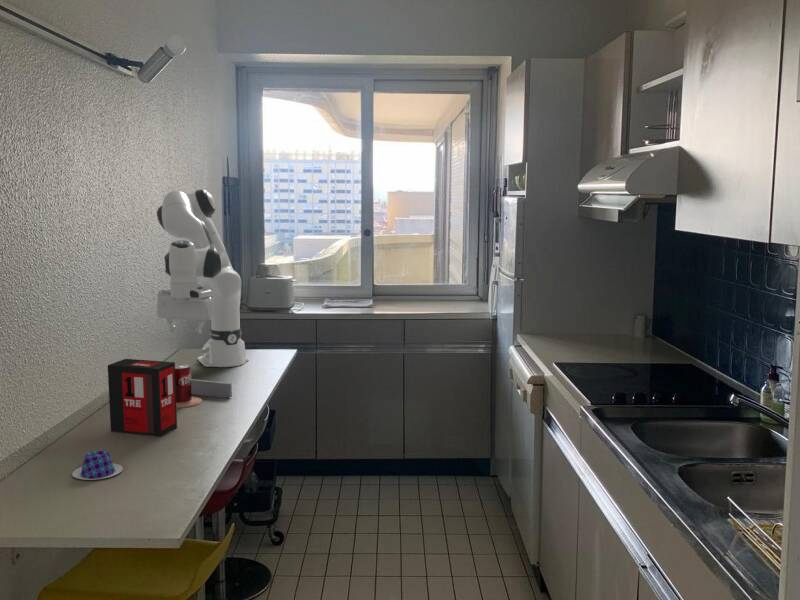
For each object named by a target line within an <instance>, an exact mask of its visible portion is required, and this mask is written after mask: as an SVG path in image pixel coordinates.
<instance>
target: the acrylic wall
mask: <svg viewBox="0 0 800 600" xmlns="http://www.w3.org/2000/svg"><path fill="white" fill-rule="evenodd" d="M191 388H192V395H196V396H197V395H198V396H204V395H205V397H213V396H217V397H216V398H222V397H232V398H233V395H232V393H233V392H232V383H231V382H223V381H214V380H202V379H195V378H194V379H193V378H191Z"/></svg>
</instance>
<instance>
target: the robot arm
mask: <svg viewBox="0 0 800 600" xmlns="http://www.w3.org/2000/svg"><path fill="white" fill-rule="evenodd" d="M215 212H216V202H215V198H214V196H213V195H212V194H211V193H210V191H208V190H206V189H205V188H204V189H202V188H201V189H197V190H195V191H192V192H189V193H185V192H183V191H181V190H171V191H169V192H168V193H167V194H165V196H164V197H163V201H162V204H161V205H160V206H159V207H158V208H157V210H156V217H157V221H158V224H159V225H160V226H161V227H162V229H163V230H165V231H166V232H167V234H169V236H172V237H174V238H177V239H182V240H176V241H175V240H174V241H173V242H171V243H170V245H169V251H168V252H167V253H166V254H165V256H164V257H163V258H164V262H165V263H164V264H165V265H164V267H165V268H164V269H165V271H164V273H165V274H166V275H168V276H170V280H169V289H168V290H167V289H161V290H160V291H158V293H157V295H156V296H157V302H156V303H157V304H156V315H157V317H158V318H159V319H166V322H167V324H168V326H169V327H170V332H172V333H176V332H177V331H178V325H176V324H175V323H174V321H175V319H176V320H189V321H190V320H191V321H197V324H198V325H197V327H196V328H194V333H195V334H202V332H203V326H204V325H205V323H206V322H208V321H211V329H210V332H209V339H208V340H207V341H206V343H204V344H203V347H202V348H201V350H200V351H201V354H203V355H201V356H198V357H197V360H198V362H200V363H201V364H202V366H203V367H208V368H209V367H211V368H212V367H214V368H216V367H217V368H229V367H238V366H242V365H244V364H245V363H246V362H249V358H248V357H247V355H246V346H245V341H244V340H243V339H242V329H241V327H240V326H241V324H240V322H241V321H240V316H241V315H240V311H241V310H240V308H241V307H240V306H241V298H242V297H241V295H242V279H241V276H240V274H239V273H238V272H237V271H236V270H234V268H233V266H232V263H231V261H230V257H229V256H228V253H227V249H226V246H225V245H224V243H223V241H222V238H221V235H220V234H219V231H218V230H217V228H216V226H215V223H214V222H213V220H212V219H211V218H212V217H213V214H215ZM198 278H205V279H206V280H207V282H208V284H209V287H210V288H208V287H205V286H203V285H200V284H198V283H199V280H198ZM211 289H212V290H211Z"/></svg>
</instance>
